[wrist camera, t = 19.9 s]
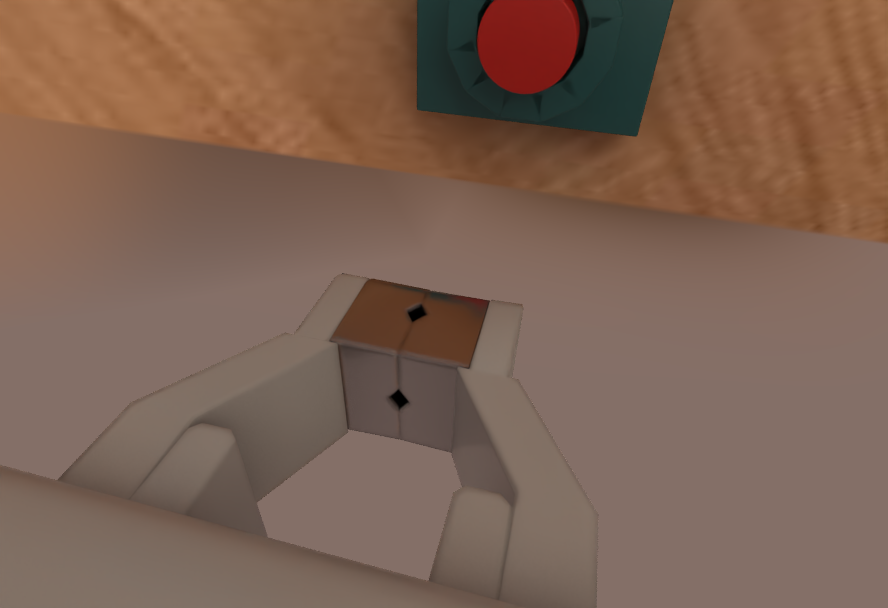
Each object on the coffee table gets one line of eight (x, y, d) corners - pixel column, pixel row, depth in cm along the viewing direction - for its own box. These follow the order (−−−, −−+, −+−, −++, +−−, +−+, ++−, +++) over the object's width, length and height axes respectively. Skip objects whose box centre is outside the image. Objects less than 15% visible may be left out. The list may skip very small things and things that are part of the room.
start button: (588, -18, 19) (586, -11, 18) (570, 86, 21) (567, 99, 20) (489, -26, 20) (480, -19, 18) (481, 76, 22) (473, 89, 21)
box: (690, -93, 20) (705, -89, 17) (635, 120, 25) (638, 153, 22) (432, -106, 22) (402, -105, 19) (428, 96, 27) (405, 123, 24)
